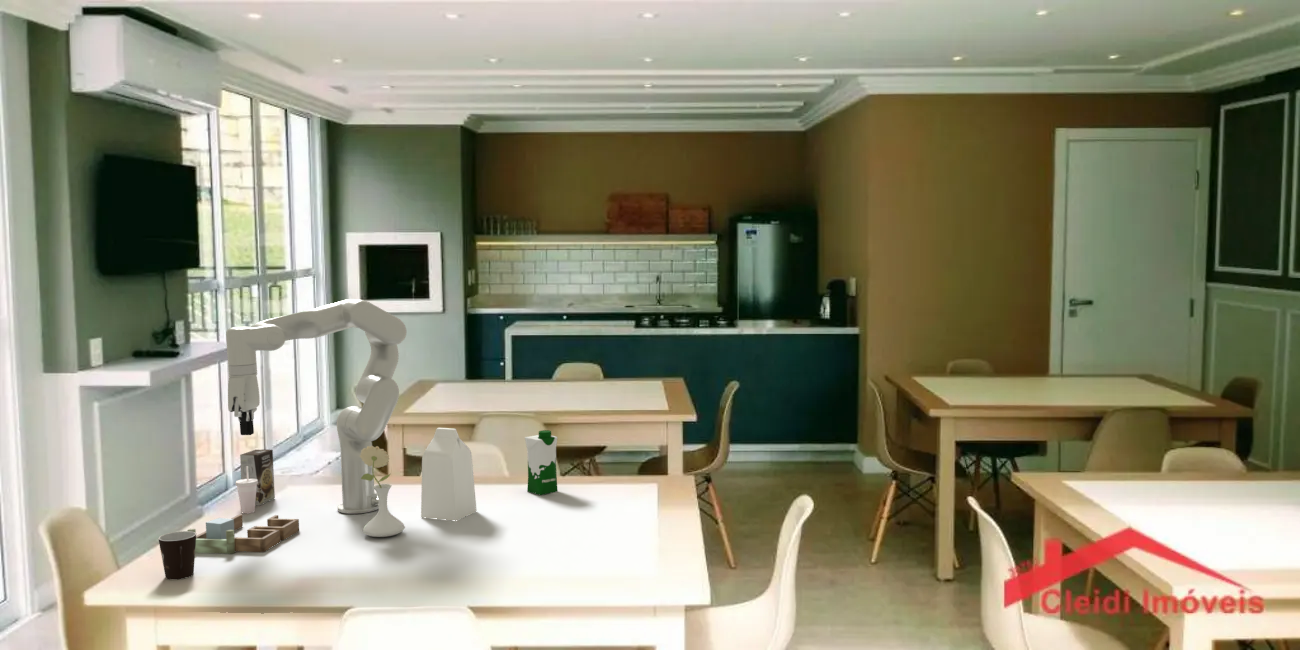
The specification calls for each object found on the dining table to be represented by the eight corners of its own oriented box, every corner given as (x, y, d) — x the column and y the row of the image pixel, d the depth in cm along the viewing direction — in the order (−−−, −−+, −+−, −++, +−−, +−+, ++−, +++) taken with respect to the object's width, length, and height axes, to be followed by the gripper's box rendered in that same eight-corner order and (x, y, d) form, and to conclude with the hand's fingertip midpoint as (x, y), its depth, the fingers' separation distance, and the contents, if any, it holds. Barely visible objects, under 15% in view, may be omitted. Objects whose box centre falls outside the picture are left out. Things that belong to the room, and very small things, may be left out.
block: (235, 544, 292) (233, 519, 291) (221, 549, 287) (220, 523, 287) (220, 542, 294) (219, 517, 293) (207, 547, 289) (205, 522, 289)
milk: (421, 517, 316) (417, 430, 314) (442, 508, 327) (439, 424, 324) (455, 521, 312) (452, 433, 309) (476, 511, 322) (473, 426, 320)
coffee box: (260, 506, 333) (257, 454, 332) (241, 505, 335) (238, 454, 333) (275, 498, 342) (273, 449, 341) (257, 498, 344) (255, 448, 342)
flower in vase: (413, 531, 302) (410, 443, 299) (387, 542, 291) (383, 451, 289) (376, 526, 307) (372, 440, 305) (349, 537, 297) (345, 448, 295)
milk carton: (539, 496, 339) (538, 434, 338) (523, 491, 346) (521, 430, 344) (561, 491, 345) (560, 430, 343) (544, 487, 352) (543, 426, 350)
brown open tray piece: (304, 527, 307) (304, 507, 307) (259, 554, 282) (258, 532, 281) (238, 526, 310) (237, 505, 310) (187, 552, 285) (185, 530, 284)
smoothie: (263, 510, 328) (261, 465, 327) (249, 515, 322) (247, 469, 321) (246, 508, 330) (244, 463, 329) (232, 513, 324) (229, 468, 323)
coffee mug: (168, 570, 269) (165, 531, 269) (203, 569, 270) (201, 530, 269) (150, 585, 258) (148, 545, 257) (187, 584, 259) (185, 543, 258)
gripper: (243, 367, 310) (247, 429, 312) (216, 374, 295) (221, 440, 297) (267, 366, 309) (272, 429, 311) (242, 374, 294) (246, 439, 296)
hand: (247, 434), depth 304 cm, fingers closed
